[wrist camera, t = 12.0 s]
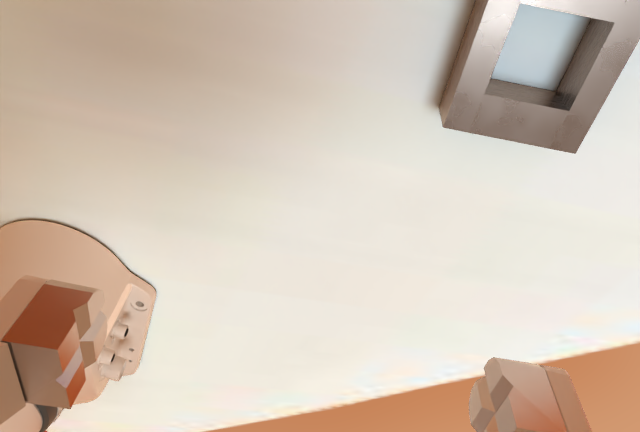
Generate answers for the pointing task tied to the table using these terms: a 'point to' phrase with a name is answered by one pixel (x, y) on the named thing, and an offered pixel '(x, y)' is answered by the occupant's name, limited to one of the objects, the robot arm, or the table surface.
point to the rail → (529, 102)
